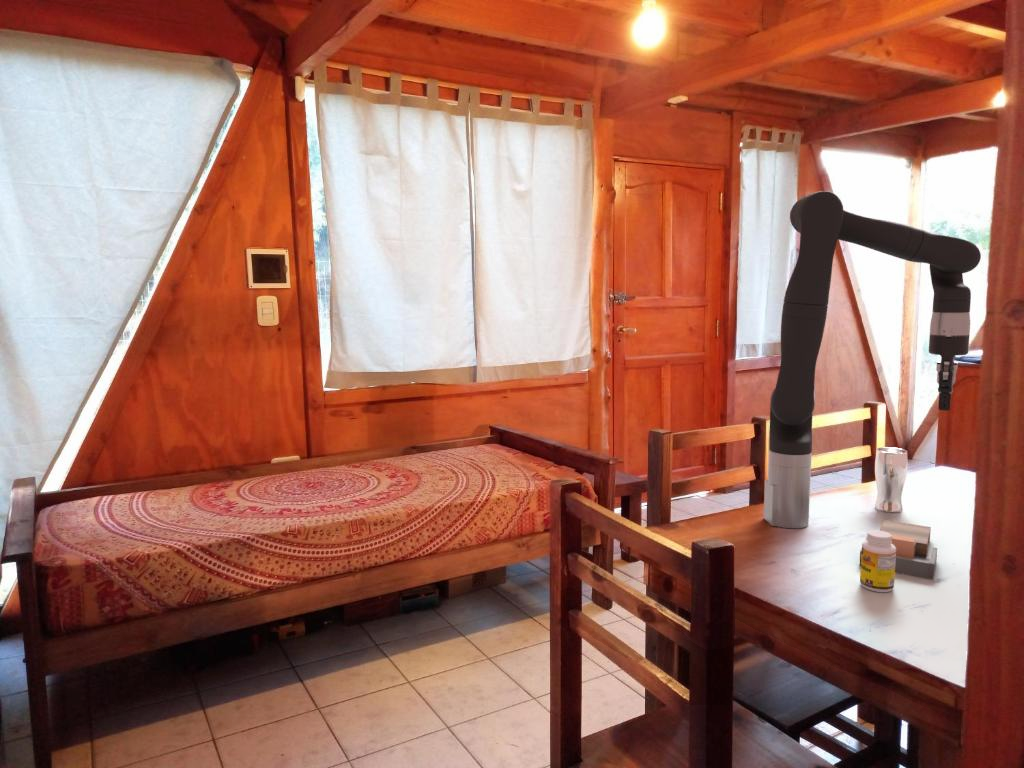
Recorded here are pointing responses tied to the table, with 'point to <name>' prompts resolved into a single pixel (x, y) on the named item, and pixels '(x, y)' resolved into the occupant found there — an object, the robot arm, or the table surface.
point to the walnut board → (910, 534)
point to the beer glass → (890, 478)
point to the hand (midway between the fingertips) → (944, 409)
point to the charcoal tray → (915, 565)
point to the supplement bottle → (878, 562)
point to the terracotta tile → (904, 546)
